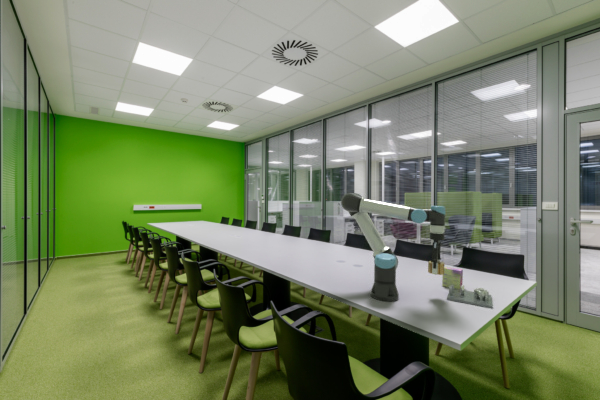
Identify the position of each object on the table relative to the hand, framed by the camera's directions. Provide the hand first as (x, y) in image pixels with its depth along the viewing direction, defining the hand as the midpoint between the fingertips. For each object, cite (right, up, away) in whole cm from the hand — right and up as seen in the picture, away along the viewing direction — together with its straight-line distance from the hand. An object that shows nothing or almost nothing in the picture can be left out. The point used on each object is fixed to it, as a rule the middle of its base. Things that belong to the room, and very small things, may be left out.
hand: (435, 272), depth 156 cm
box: (+20, -15, +19) cm, 31 cm away
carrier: (+18, -14, -2) cm, 23 cm away
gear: (0, 0, 0) cm, 0 cm away
